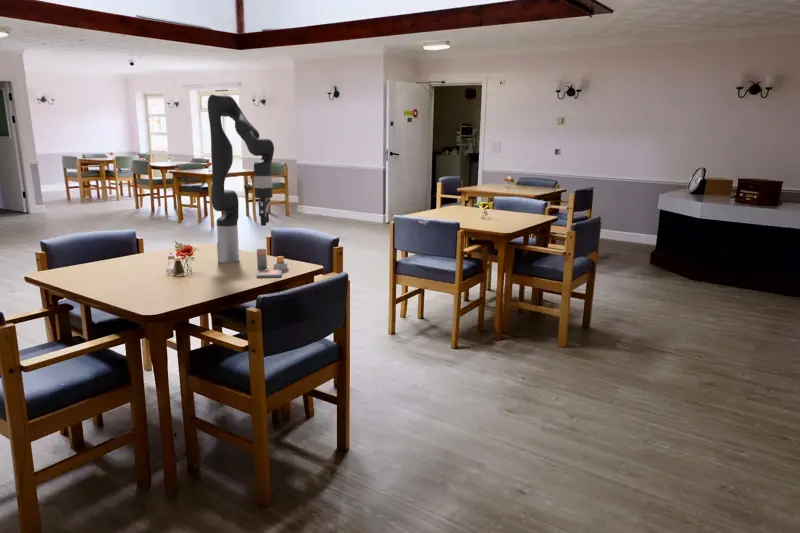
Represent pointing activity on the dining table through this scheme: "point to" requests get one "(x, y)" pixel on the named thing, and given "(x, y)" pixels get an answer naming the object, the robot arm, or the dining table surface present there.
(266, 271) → the picture board
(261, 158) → the robot arm
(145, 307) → the dining table surface
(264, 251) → the grey upright block
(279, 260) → the button
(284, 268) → the button housing
